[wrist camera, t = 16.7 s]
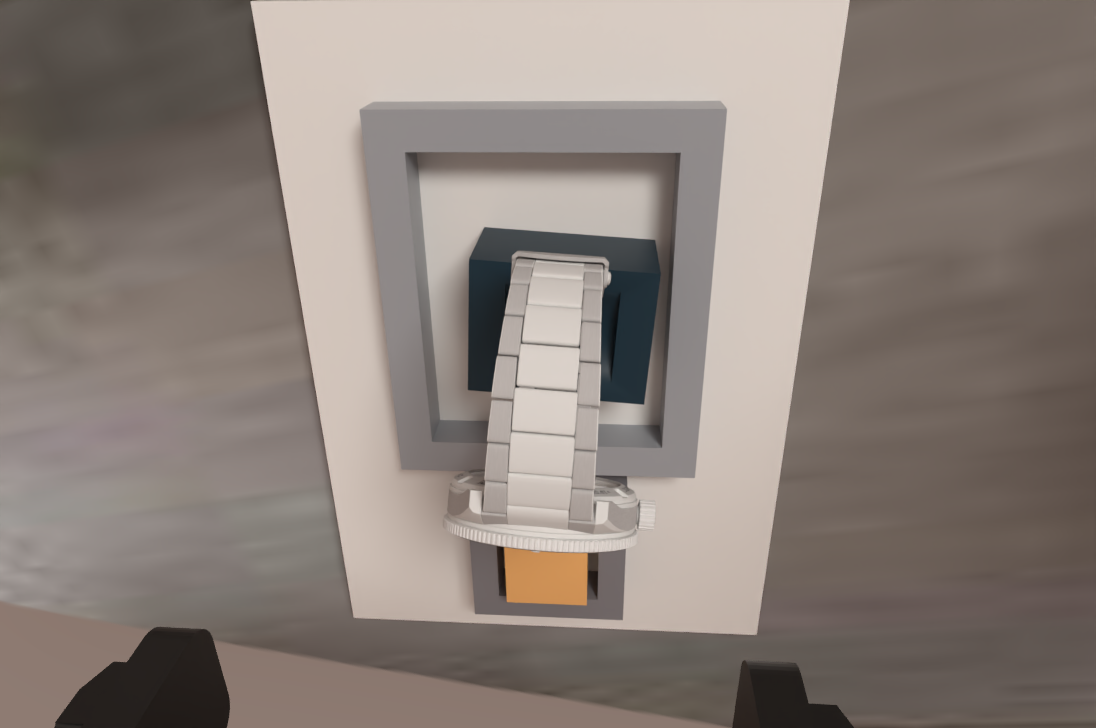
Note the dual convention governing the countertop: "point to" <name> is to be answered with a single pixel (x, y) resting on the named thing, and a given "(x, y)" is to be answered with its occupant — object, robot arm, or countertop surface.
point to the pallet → (564, 207)
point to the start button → (546, 577)
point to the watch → (554, 387)
